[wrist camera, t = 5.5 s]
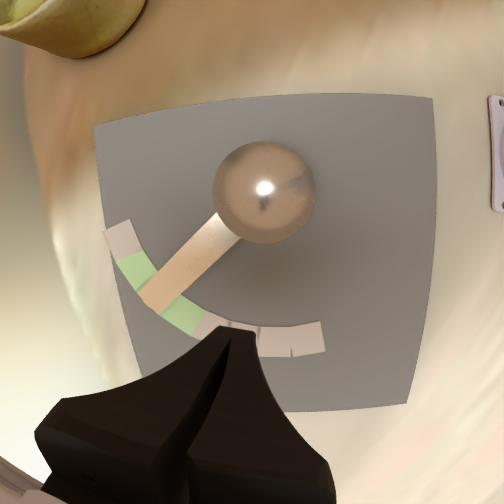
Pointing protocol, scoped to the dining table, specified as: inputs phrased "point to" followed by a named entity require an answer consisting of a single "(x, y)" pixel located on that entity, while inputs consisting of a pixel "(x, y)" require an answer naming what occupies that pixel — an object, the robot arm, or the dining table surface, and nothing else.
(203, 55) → the dining table surface
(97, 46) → the mug
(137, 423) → the robot arm
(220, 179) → the tuning dial
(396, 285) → the tuner board
